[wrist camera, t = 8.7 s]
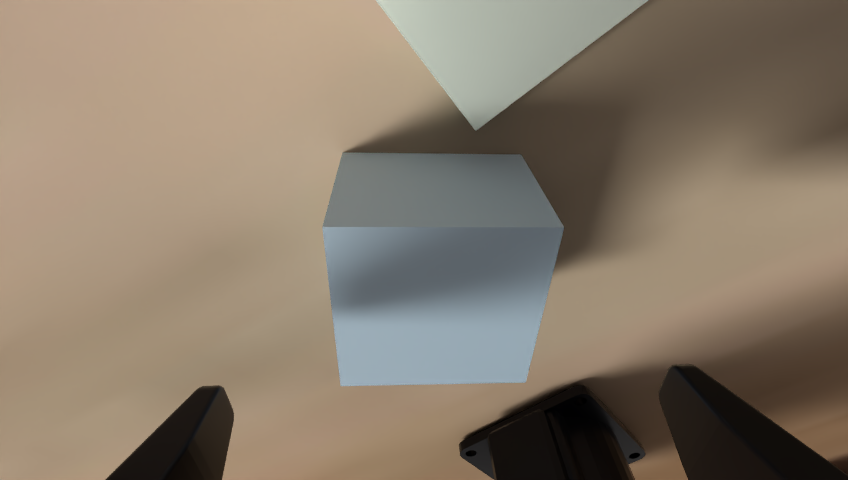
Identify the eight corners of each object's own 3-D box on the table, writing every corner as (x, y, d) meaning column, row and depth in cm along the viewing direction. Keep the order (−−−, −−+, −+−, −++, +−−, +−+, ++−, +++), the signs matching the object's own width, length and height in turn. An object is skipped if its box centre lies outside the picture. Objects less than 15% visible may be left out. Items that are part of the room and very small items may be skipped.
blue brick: (497, 287, 15) (525, 382, 12) (353, 288, 15) (340, 385, 12) (520, 152, 12) (563, 227, 9) (343, 150, 12) (322, 227, 9)
